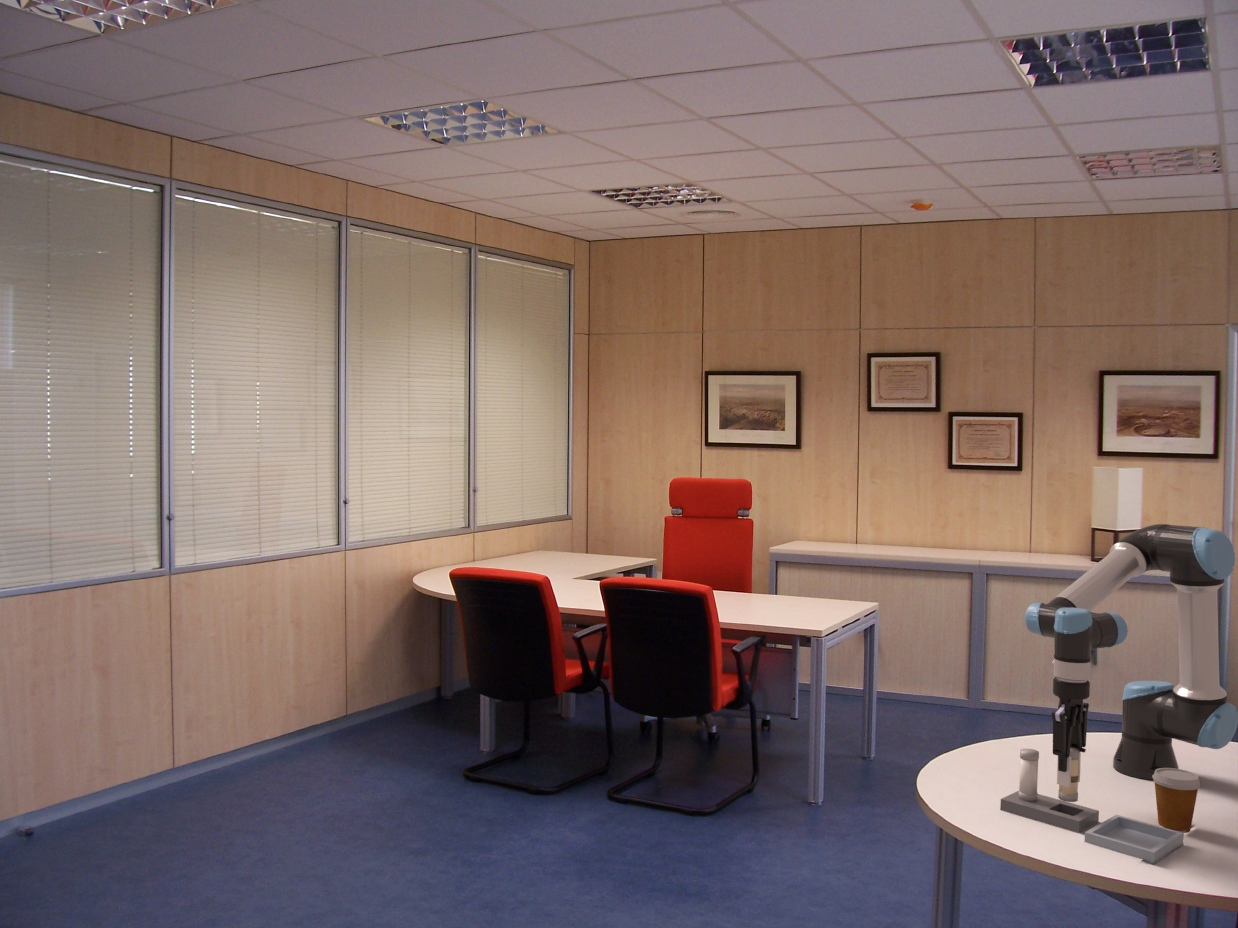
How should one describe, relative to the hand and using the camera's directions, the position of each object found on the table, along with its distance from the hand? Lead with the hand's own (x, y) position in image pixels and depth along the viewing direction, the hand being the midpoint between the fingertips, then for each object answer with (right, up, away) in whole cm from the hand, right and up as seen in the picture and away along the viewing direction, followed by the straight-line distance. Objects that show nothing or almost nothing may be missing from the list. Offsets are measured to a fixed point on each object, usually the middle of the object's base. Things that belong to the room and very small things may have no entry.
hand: (1068, 782), depth 240 cm
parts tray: (+9, -10, -11) cm, 17 cm away
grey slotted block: (-3, -9, +3) cm, 10 cm away
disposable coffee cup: (+23, -10, -1) cm, 25 cm away
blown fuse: (0, -4, 0) cm, 4 cm away
